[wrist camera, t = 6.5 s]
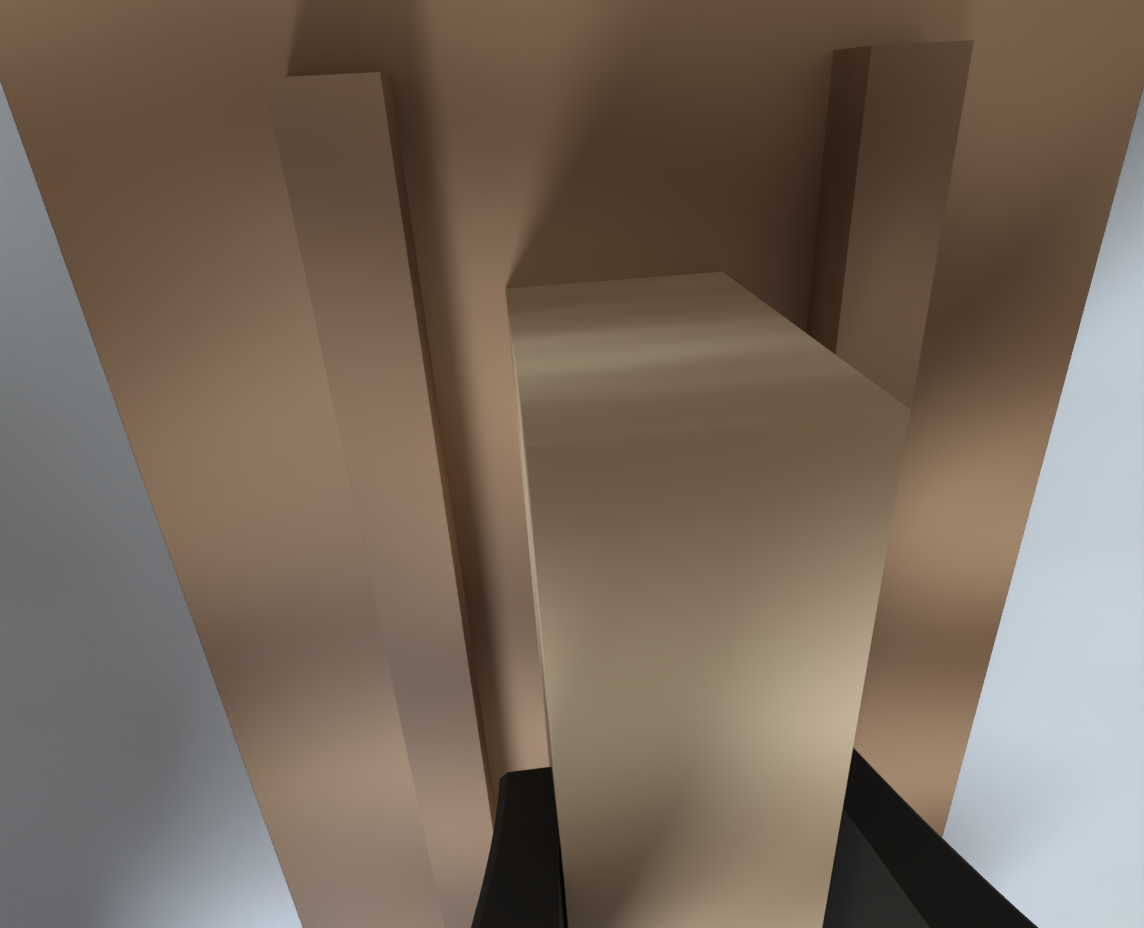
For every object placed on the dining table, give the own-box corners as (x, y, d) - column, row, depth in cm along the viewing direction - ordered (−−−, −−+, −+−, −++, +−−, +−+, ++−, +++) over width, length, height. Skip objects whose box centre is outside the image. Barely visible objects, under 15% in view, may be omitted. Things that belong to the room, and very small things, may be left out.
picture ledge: (896, 890, 19) (940, 972, 17) (342, 971, 18) (326, 1068, 16) (1119, -49, 10) (1260, -79, 8) (19, 0, 9) (-98, -24, 7)
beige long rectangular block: (707, 842, 16) (798, 1138, 11) (557, 862, 15) (589, 1173, 11) (736, 270, 10) (934, 407, 6) (505, 288, 10) (526, 446, 6)
